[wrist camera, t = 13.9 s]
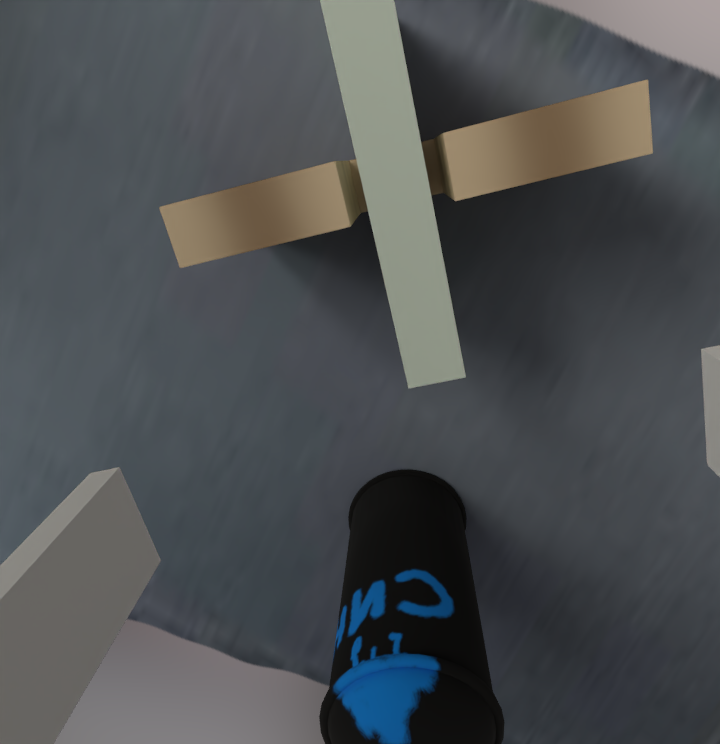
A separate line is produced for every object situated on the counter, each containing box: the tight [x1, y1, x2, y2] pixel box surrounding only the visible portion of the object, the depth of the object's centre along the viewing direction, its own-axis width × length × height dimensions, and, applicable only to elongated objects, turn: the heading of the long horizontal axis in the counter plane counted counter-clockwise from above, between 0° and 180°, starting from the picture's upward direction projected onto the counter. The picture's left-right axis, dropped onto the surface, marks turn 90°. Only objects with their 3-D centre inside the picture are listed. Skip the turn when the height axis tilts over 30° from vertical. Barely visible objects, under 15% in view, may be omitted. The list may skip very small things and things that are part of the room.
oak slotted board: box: [159, 80, 653, 268], centre depth 27 cm, size 18×2×12 cm, turn 104°
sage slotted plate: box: [320, 0, 466, 388], centre depth 27 cm, size 16×2×12 cm, turn 14°
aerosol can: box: [320, 470, 504, 744], centre depth 31 cm, size 8×8×20 cm
